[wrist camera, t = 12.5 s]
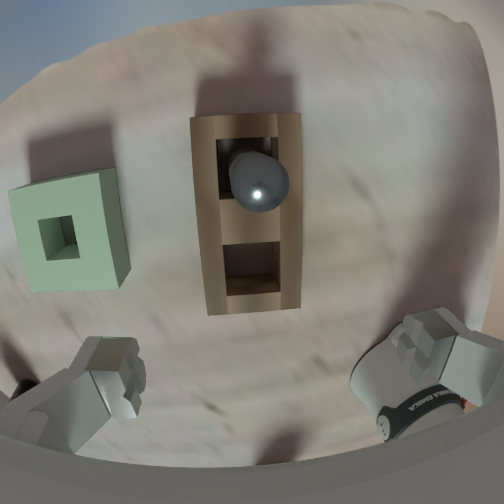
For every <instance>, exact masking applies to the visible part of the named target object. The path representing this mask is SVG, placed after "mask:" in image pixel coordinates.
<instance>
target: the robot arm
mask: <svg viewBox="0 0 504 504" xmlns="http://www.w3.org/2000/svg"><path fill="white" fill-rule="evenodd" d="M139 350H140V349H139V346H138V342H137V340H136V339H135V338H131V337H102V336H89V337H87V338H86V340H85V341H84V343H83V345H82V346H81V348H80V350H79V351H78V353H77V355H76V357H75V358H74V360H73V362H72V364H71V365H70V367H69V369H65V368H64V369H63V370H61V371H59V372H58V373H56V374H54V375H53V376H51V377H50V378H48V379H46V380H45V381H43V382H41V383H40V384H38V385H36V386H35V387H33V388H32V389H30V390H28V391H27V392H25V393H23V394H22V395H20V396H18V397H17V398H15V399H13V400H12V401H10V402H9V403H8V404H7V405H6V407H5V409H4V410H3V412H2V414H1V415H0V504H504V341H502V340H500V339H497V338H494V337H491V336H489V335H486V334H483V333H480V332H478V331H475V330H474V331H471V330H470V329H469V328H467V327H466V326H465V325H464V324H463V323H462V322H461V321H460V320H459V319H458V318H457V317H456V316H455V315H454V314H453V313H451V312H450V311H449V310H448V309H447V308H444V307H441V308H437V309H432V310H430V311H425V312H420V313H414V314H409V315H406V316H405V318H404V319H403V323H400V324H399V325H397V326H396V327H395V328H394V329H393V331H392V332H391V333H390V334H389V336H388V337H387V338H386V339H385V340H384V341H382V342H381V343H380V344H378V345H377V346H375V347H374V348H373V349H372V350H370V351H369V352H368V353H367V354H366V355H365V356H364V357H363V358H362V359H361V361H360V362H359V363H358V365H357V366H356V368H355V370H354V372H353V374H352V377H351V381H350V386H351V390H352V392H353V394H354V395H355V396H356V397H357V398H359V399H360V400H361V401H362V403H363V404H364V405H365V406H366V407H367V409H368V410H369V411H370V413H371V414H372V415H373V417H374V418H375V420H376V421H377V426H378V429H379V431H380V434H381V436H382V438H383V440H384V442H385V443H381V444H377V445H374V446H370V447H366V448H362V449H358V450H354V451H349V452H345V453H340V454H335V455H330V456H325V457H319V458H314V459H307V460H301V461H294V462H286V463H278V464H268V465H257V466H243V467H220V468H186V467H163V466H149V465H138V464H129V463H121V462H114V461H107V460H100V459H95V458H89V457H84V456H79V455H75V453H76V452H77V451H78V450H79V449H80V448H81V447H82V446H83V445H84V444H85V443H86V442H87V441H88V440H89V439H90V438H91V437H92V436H93V435H94V434H95V433H96V432H97V431H98V430H99V429H100V428H101V427H102V426H103V425H104V424H105V423H106V422H107V421H108V420H109V419H110V418H111V417H110V416H113V417H131V418H137V417H138V413H139V409H140V405H141V399H140V396H139V394H141V393H142V392H143V391H144V389H145V385H146V371H145V366H144V362H143V360H142V359H140V358H139V357H138V353H139ZM460 396H461V397H462V399H461V397H460ZM467 400H468V401H469V402H471V403H473V404H474V405H476V406H478V408H476V409H474V410H472V411H469V412H467V413H465V412H464V411H463V410H464V408H465V406H464V405H465V403H466V402H467Z"/></svg>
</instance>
